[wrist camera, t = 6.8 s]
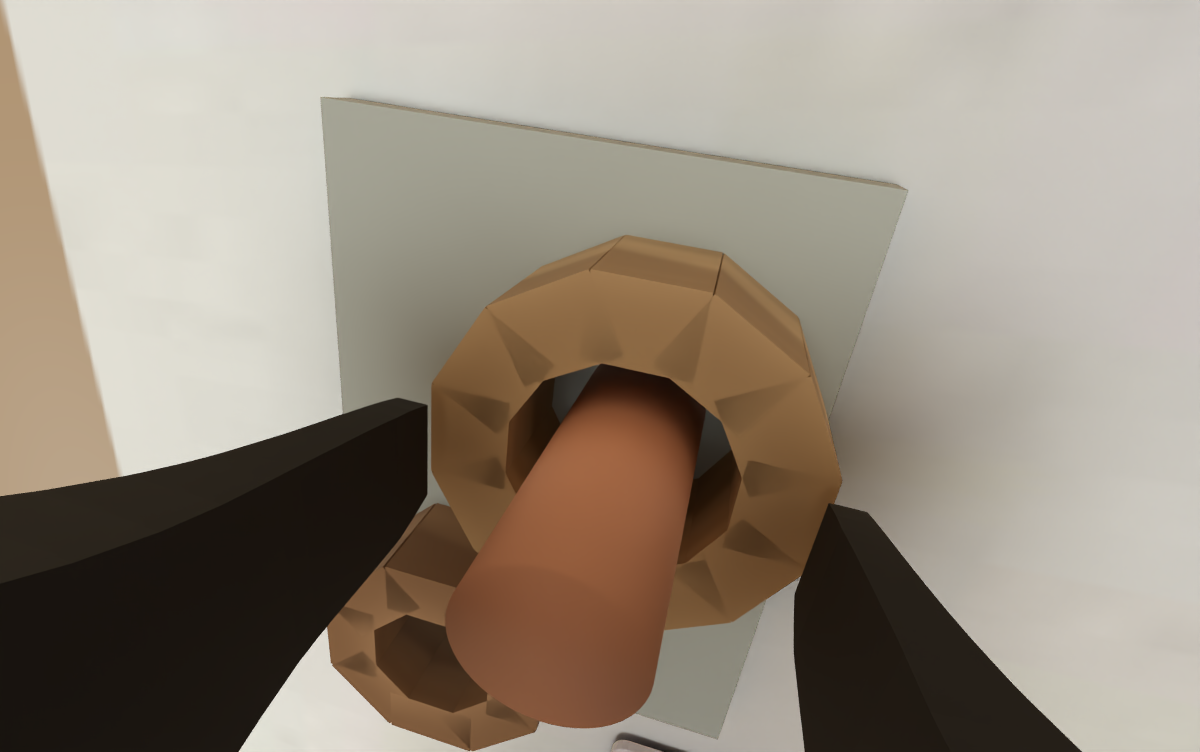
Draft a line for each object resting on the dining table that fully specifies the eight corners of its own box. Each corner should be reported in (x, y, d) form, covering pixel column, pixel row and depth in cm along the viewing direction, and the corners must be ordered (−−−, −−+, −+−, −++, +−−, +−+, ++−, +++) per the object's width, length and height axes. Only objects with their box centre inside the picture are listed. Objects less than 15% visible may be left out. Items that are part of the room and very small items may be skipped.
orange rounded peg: (694, 467, 14) (638, 753, 8) (581, 440, 14) (445, 690, 8) (716, 361, 13) (672, 603, 7) (592, 336, 13) (444, 540, 7)
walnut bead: (558, 688, 18) (531, 772, 16) (385, 634, 19) (335, 705, 17) (580, 541, 16) (550, 615, 13) (378, 487, 17) (318, 547, 14)
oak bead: (767, 570, 15) (770, 671, 12) (484, 495, 16) (430, 572, 13) (866, 278, 11) (900, 329, 9) (499, 211, 13) (431, 237, 10)
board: (719, 709, 18) (717, 739, 18) (375, 603, 20) (358, 626, 19) (896, 184, 12) (908, 190, 11) (349, 98, 13) (320, 97, 13)
